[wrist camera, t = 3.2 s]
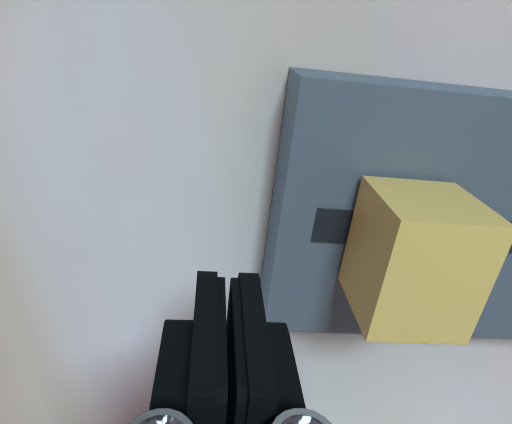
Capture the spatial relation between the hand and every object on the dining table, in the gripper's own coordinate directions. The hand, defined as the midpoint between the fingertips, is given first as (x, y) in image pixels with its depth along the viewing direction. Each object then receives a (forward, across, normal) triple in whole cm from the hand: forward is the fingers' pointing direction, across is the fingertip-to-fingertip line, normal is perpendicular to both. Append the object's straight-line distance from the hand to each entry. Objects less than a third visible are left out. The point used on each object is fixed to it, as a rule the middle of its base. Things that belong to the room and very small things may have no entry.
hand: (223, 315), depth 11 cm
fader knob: (+6, -7, 0) cm, 10 cm away
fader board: (+9, -14, 0) cm, 16 cm away
